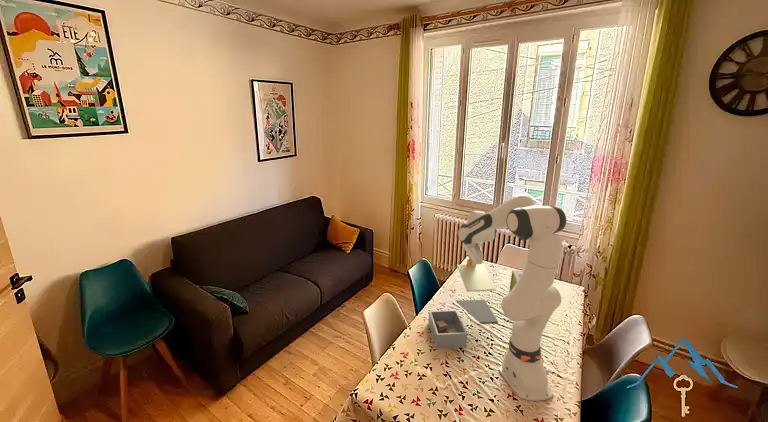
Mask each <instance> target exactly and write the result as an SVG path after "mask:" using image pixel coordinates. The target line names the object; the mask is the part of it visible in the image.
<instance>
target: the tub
mask: <svg viewBox="0 0 768 422" xmlns="http://www.w3.org/2000/svg"><path fill="white" fill-rule="evenodd" d="M442 320H443V321H444V322H445V323H446V324H447V331H449V330H452V329H455V330H456V331H457V332H458V333H447V332H444V333H440V334H439V333H438V331H437V328H436V322H438V321H442ZM428 326H429V329H430V332H431V335H432V339H433V342H434V345H435V349H441V348H443V349H444V348H461V347H463V348H464V347H467V341H468V332H467V330H466V327H465V325H464V323H463V321H462V319H461V317H460V314H459V312H458V310H457V309H447V310H429V312H428Z"/></svg>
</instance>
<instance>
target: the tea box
mask: <svg viewBox="0 0 768 422" xmlns="http://www.w3.org/2000/svg"><path fill="white" fill-rule="evenodd" d="M522 272H523V270H519V269H517V270H516V269H512V271H511V278H510V285H509V293H510V292H511V290H512V289H513V288H514V286H515V285H516V283H517V282H518V280H519V278H520V277H521V275H522Z"/></svg>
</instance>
